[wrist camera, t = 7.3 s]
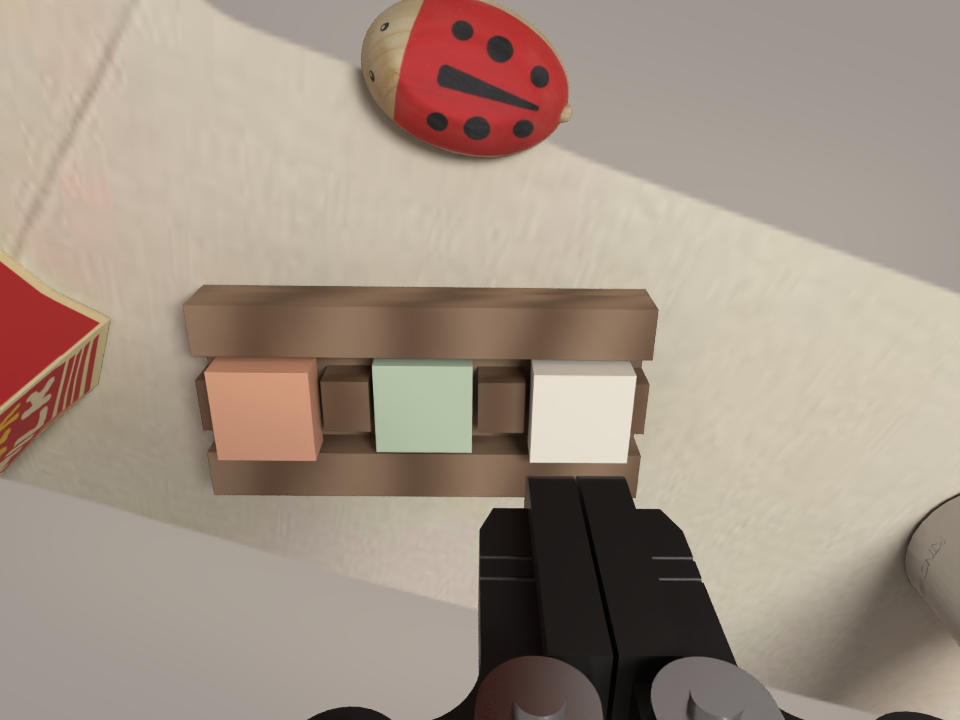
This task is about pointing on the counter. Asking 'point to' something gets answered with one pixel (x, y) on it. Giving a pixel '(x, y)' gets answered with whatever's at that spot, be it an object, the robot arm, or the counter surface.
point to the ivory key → (580, 411)
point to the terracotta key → (265, 408)
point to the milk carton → (42, 356)
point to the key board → (418, 334)
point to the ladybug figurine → (465, 76)
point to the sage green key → (423, 404)
